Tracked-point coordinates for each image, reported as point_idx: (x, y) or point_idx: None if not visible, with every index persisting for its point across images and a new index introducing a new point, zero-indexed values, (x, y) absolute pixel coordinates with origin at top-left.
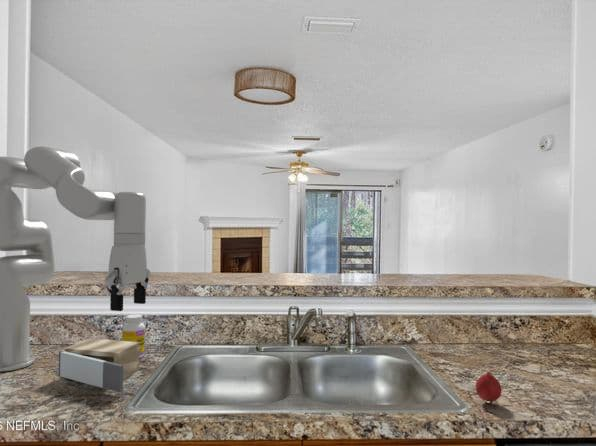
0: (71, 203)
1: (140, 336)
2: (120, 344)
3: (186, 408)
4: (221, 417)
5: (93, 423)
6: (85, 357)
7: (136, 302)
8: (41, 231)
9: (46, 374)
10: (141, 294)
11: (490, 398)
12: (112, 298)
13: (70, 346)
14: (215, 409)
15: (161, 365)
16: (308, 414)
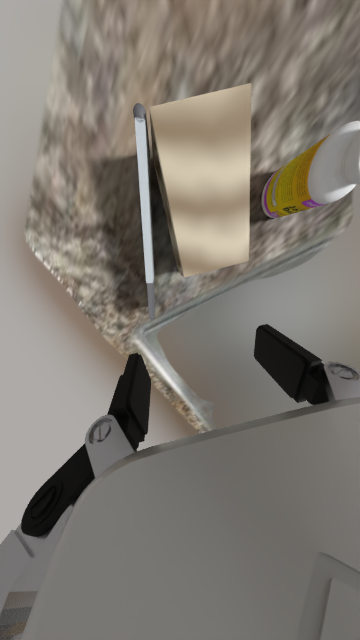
0: None
1: (304, 207)
2: (226, 236)
3: (164, 365)
4: (165, 389)
5: (98, 328)
6: (145, 229)
7: (256, 337)
8: None
9: (146, 85)
10: (276, 374)
11: None
12: (112, 408)
13: (168, 108)
14: (173, 380)
15: (249, 273)
16: (193, 416)
